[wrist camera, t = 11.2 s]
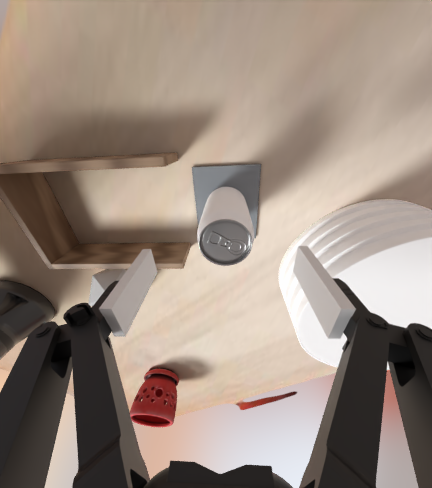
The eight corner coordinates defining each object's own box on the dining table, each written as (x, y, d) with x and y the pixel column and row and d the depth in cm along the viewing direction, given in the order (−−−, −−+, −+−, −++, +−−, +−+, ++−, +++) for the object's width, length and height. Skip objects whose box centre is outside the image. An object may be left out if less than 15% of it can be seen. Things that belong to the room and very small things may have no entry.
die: (128, 249, 36) (70, 276, 29) (154, 284, 34) (99, 320, 28) (127, 267, 42) (79, 292, 36) (149, 297, 41) (103, 329, 34)
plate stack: (484, 200, 27) (633, 236, 17) (390, 319, 41) (441, 375, 31) (295, 197, 28) (332, 229, 18) (268, 313, 43) (281, 366, 33)
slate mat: (200, 237, 33) (199, 238, 32) (192, 167, 26) (191, 167, 26) (255, 236, 32) (255, 238, 31) (260, 163, 26) (261, 164, 25)
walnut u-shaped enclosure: (76, 248, 35) (48, 269, 30) (29, 160, 27) (-21, 166, 22) (190, 246, 34) (183, 268, 28) (177, 152, 26) (163, 156, 20)
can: (235, 230, 31) (239, 276, 21) (200, 215, 30) (186, 256, 20) (253, 195, 28) (268, 230, 17) (215, 178, 27) (207, 204, 16)
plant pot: (136, 369, 61) (118, 417, 50) (166, 361, 57) (153, 411, 47) (160, 385, 66) (148, 431, 56) (189, 379, 62) (181, 427, 52)
